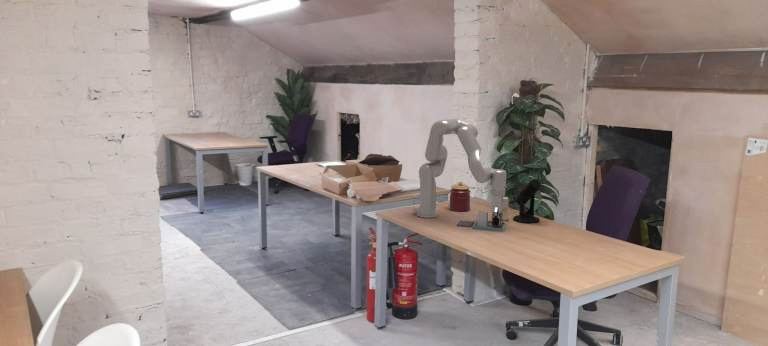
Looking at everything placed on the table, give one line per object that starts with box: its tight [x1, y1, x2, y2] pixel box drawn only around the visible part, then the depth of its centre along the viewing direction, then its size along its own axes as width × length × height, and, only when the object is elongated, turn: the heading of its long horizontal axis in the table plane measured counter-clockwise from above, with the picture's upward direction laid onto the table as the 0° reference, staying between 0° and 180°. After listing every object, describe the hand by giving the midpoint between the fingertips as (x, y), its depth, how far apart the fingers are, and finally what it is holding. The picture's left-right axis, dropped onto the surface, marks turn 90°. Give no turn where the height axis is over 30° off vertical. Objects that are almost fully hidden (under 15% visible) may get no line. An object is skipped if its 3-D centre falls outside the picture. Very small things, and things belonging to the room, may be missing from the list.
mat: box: [456, 219, 475, 228], centre depth 311 cm, size 8×10×1 cm
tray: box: [471, 219, 507, 233], centre depth 306 cm, size 17×15×2 cm
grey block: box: [476, 210, 489, 227], centre depth 307 cm, size 5×5×8 cm
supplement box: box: [501, 196, 510, 221], centre depth 321 cm, size 8×5×13 cm, turn 84°
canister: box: [449, 181, 472, 213], centre depth 344 cm, size 13×13×18 cm
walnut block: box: [491, 213, 503, 228], centre depth 305 cm, size 5×5×8 cm
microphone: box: [512, 179, 542, 225], centre depth 318 cm, size 15×17×25 cm
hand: (497, 222), depth 305 cm, fingers open, 8 cm apart
